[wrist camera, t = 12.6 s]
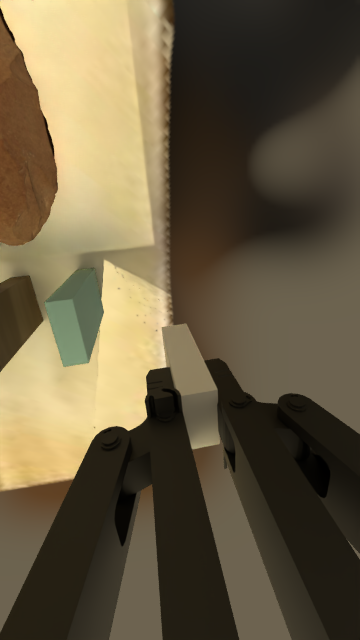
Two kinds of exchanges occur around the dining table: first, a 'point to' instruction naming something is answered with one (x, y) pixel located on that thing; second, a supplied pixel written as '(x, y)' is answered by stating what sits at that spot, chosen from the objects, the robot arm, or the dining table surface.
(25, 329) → the tile
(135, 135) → the dining table surface
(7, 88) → the stone
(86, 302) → the tile
